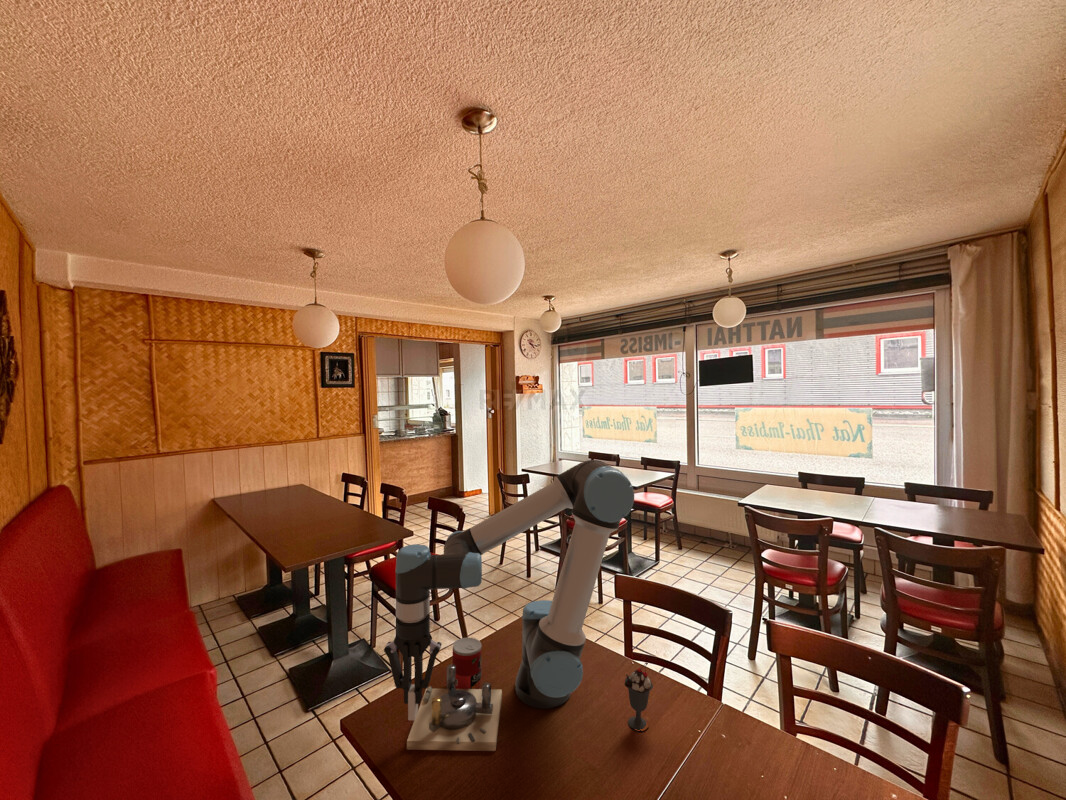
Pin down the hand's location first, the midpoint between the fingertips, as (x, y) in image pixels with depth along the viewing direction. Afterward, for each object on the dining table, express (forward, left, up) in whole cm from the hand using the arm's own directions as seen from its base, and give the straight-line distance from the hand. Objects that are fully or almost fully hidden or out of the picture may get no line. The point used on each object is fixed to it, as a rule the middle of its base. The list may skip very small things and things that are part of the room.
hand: (413, 715), depth 102 cm
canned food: (-9, -20, -6) cm, 23 cm away
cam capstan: (-8, -5, -4) cm, 10 cm away
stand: (-9, -6, -6) cm, 13 cm away
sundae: (-53, -6, -6) cm, 54 cm away
